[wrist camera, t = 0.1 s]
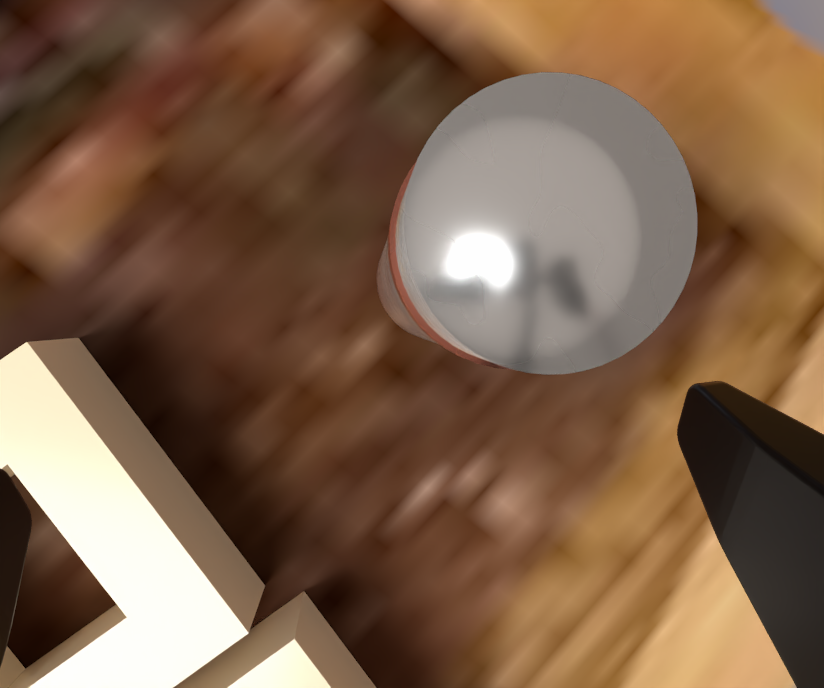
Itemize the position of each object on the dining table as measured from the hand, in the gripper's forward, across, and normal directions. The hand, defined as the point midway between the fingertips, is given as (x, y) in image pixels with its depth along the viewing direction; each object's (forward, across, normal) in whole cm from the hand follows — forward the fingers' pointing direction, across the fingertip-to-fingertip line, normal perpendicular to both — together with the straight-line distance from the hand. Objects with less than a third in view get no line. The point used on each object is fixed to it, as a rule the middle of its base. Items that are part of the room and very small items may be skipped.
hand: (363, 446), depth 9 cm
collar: (+9, +12, +13) cm, 20 cm away
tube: (+14, -3, +6) cm, 15 cm away
